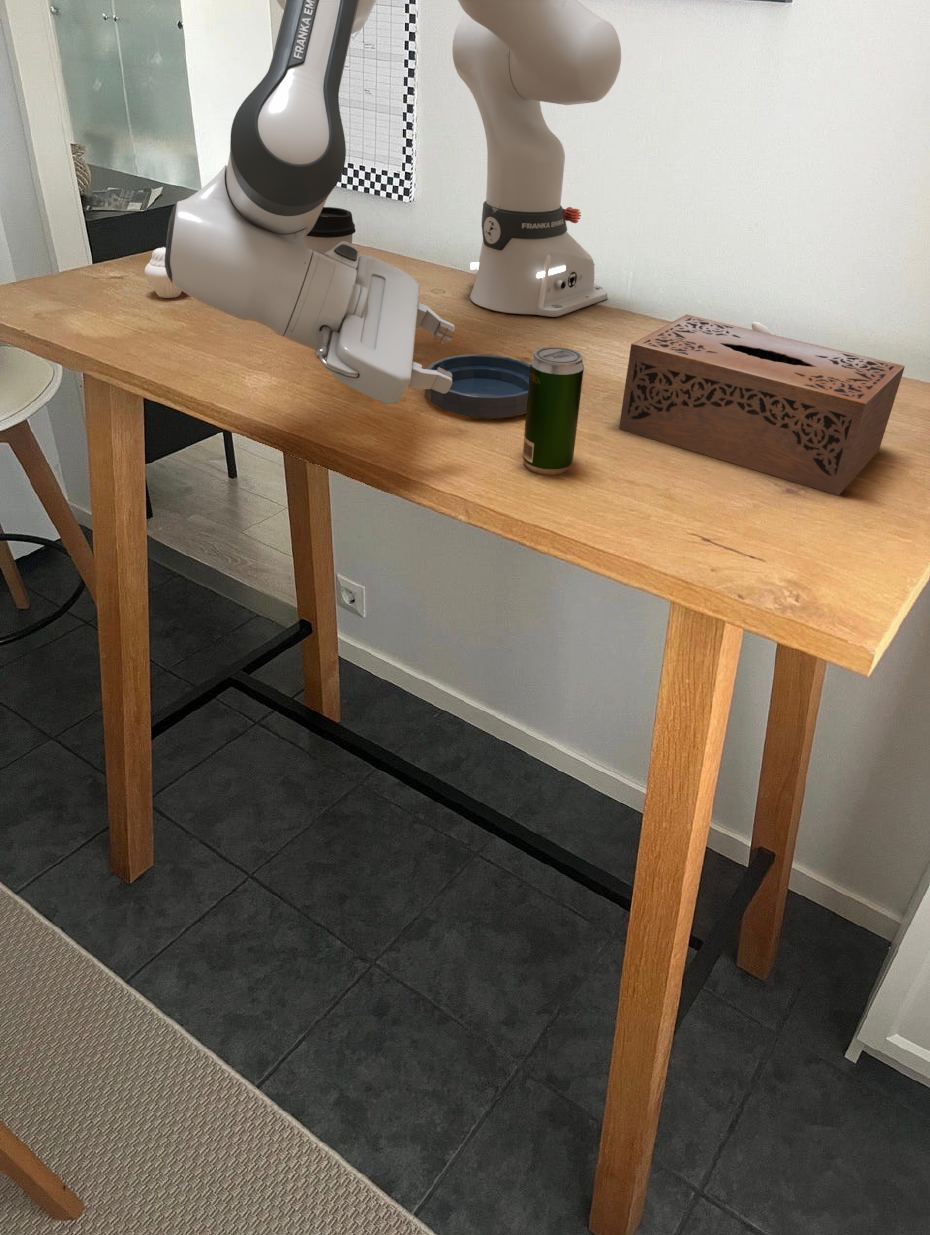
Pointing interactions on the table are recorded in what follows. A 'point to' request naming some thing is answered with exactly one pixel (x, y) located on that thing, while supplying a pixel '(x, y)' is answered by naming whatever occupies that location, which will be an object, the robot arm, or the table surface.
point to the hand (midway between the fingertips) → (451, 359)
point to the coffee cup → (330, 230)
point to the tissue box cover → (760, 400)
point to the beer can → (552, 409)
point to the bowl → (483, 386)
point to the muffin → (160, 275)
